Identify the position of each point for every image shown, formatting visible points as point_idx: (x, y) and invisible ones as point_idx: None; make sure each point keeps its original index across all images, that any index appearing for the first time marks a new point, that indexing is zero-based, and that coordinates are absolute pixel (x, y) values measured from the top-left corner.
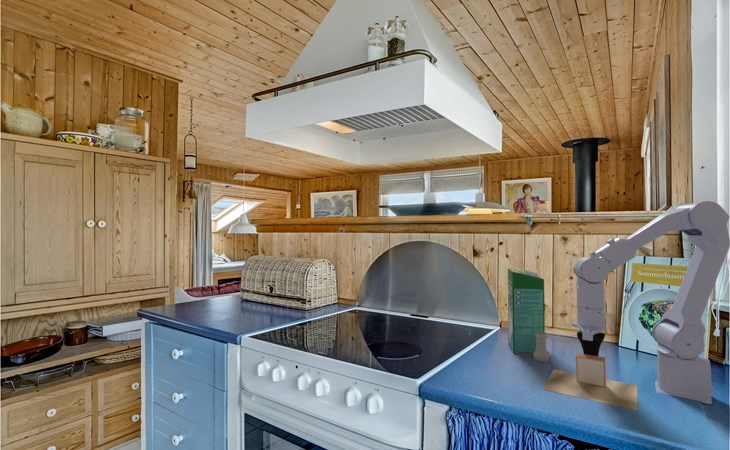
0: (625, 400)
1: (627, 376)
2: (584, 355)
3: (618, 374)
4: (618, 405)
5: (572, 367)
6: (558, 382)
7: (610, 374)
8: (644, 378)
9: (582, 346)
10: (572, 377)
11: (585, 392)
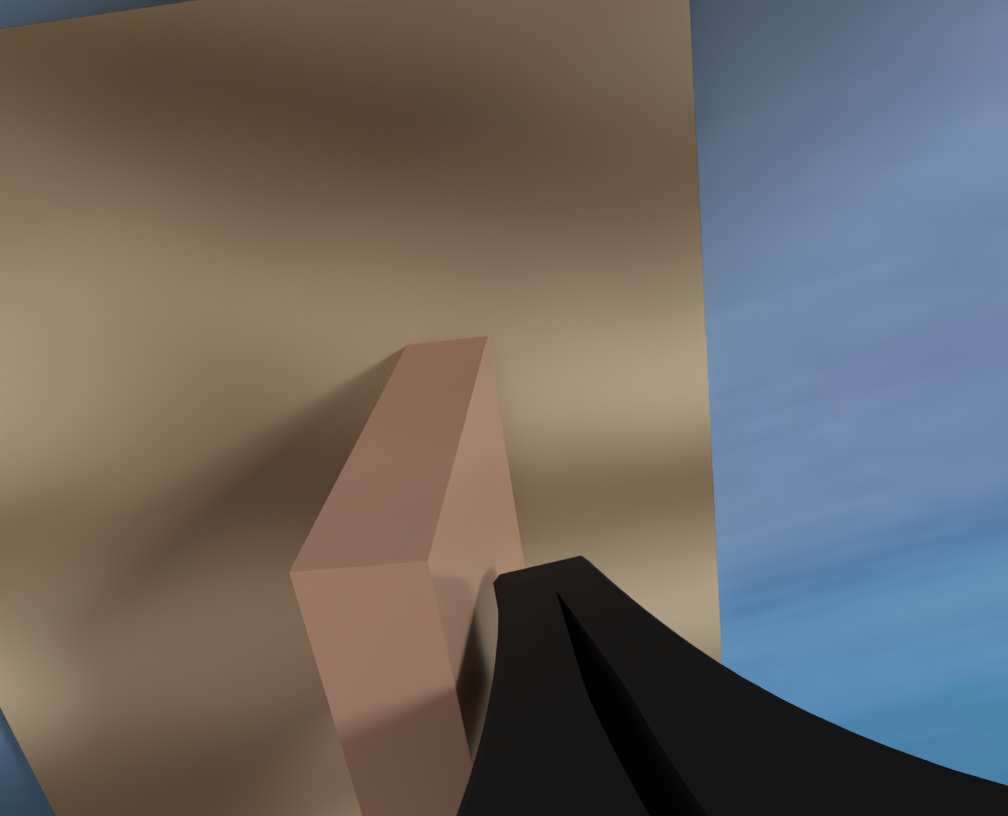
0: (258, 806)
1: (969, 602)
2: (402, 697)
3: (985, 536)
4: (77, 811)
5: (976, 100)
6: (177, 175)
7: (947, 487)
8: (988, 699)
9: (466, 793)
10: (521, 255)
11: (132, 524)
